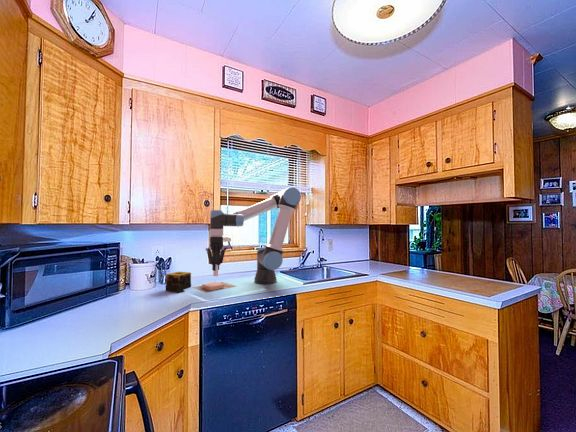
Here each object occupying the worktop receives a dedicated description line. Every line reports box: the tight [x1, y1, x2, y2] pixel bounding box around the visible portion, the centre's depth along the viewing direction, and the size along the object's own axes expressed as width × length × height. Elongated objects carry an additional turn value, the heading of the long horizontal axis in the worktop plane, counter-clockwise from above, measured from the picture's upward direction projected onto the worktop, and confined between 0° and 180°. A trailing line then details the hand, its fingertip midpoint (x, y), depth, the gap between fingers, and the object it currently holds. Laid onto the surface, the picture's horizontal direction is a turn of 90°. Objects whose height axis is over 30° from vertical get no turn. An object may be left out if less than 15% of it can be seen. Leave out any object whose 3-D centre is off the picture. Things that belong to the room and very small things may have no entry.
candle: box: [165, 271, 192, 294], centre depth 154 cm, size 10×10×10 cm
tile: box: [201, 281, 224, 292], centre depth 155 cm, size 2×9×9 cm
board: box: [191, 281, 237, 294], centre depth 158 cm, size 21×16×1 cm
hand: (215, 275), depth 156 cm, fingers closed
